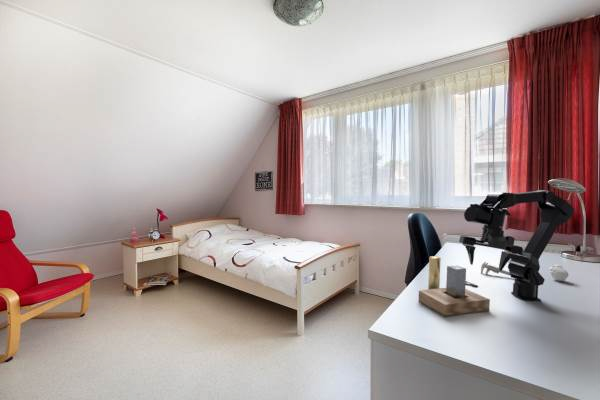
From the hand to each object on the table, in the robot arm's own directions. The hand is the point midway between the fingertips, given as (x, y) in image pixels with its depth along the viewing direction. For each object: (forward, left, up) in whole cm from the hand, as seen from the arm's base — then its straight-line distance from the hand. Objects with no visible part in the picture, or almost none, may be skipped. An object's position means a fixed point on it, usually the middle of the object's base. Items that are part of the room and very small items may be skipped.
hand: (485, 267), depth 98 cm
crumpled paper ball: (-46, -27, -12) cm, 55 cm away
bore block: (+14, +8, -12) cm, 20 cm away
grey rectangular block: (+14, +8, -11) cm, 19 cm away
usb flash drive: (-1, -16, -12) cm, 20 cm away
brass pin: (+15, -7, -12) cm, 20 cm away
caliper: (-25, -28, -12) cm, 40 cm away
